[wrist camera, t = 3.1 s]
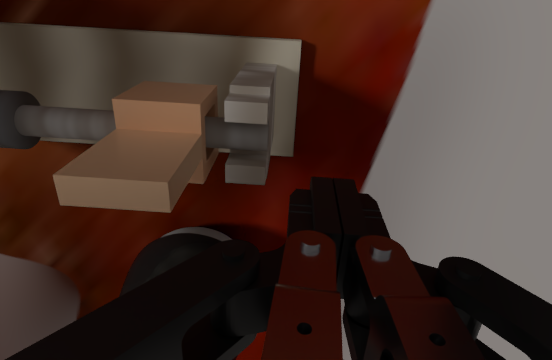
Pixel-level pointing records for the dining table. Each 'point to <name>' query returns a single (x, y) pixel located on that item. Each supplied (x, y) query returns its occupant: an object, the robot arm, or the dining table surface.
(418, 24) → the dining table surface
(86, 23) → the dining table surface
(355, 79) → the dining table surface
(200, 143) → the tan stepped block
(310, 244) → the robot arm
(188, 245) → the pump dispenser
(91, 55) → the grey rail mechanism
